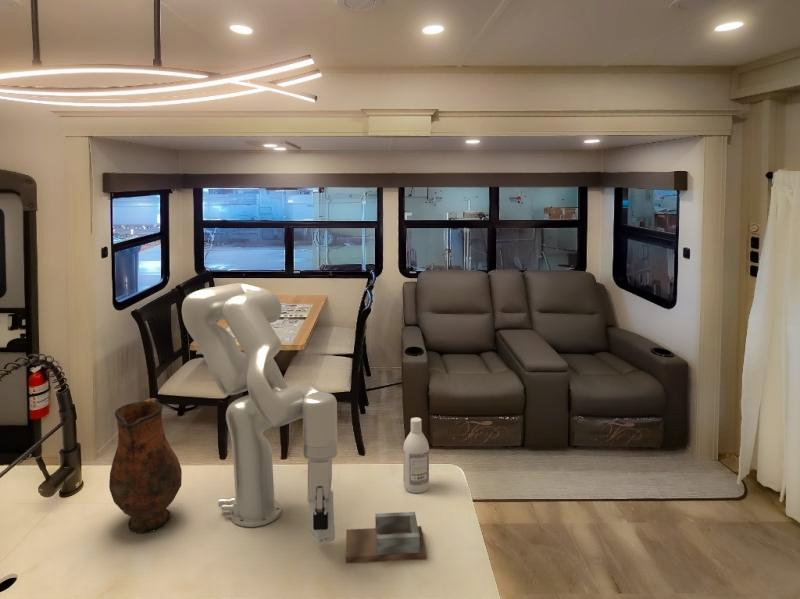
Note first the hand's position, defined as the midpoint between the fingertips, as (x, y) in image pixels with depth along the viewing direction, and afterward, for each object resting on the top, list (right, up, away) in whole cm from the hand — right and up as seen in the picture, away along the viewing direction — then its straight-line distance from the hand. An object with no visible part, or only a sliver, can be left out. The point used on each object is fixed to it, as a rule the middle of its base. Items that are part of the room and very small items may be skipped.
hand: (321, 518), depth 147 cm
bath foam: (+22, -2, +29) cm, 37 cm away
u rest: (+15, -7, +2) cm, 16 cm away
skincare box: (0, -4, +1) cm, 5 cm away
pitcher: (-45, -5, +15) cm, 48 cm away
